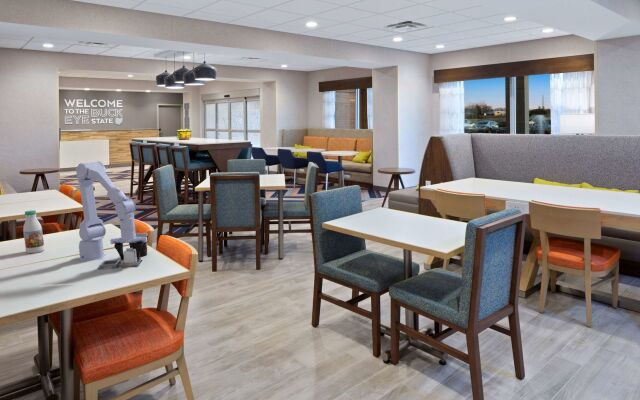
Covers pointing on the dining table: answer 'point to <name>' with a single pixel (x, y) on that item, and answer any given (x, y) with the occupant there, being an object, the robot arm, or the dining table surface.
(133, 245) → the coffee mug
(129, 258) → the plug
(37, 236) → the milk bottle
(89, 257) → the robot arm
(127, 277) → the dining table surface
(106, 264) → the panel
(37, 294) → the dining table surface
